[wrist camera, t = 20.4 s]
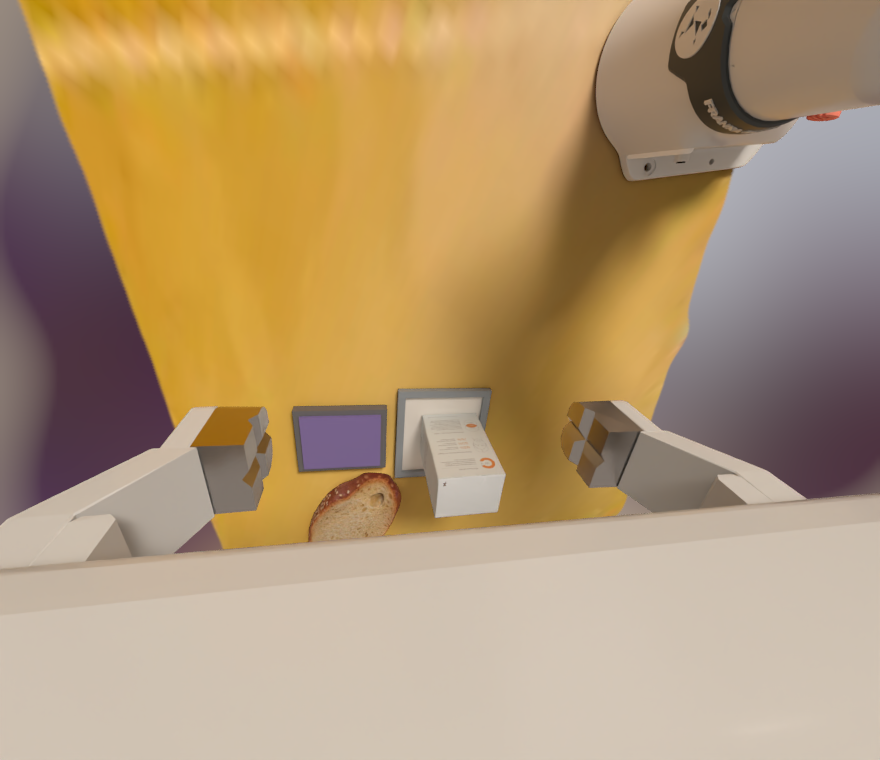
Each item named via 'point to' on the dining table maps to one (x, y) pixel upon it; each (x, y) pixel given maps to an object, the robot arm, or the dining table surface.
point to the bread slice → (356, 509)
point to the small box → (460, 465)
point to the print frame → (430, 403)
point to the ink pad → (340, 437)
